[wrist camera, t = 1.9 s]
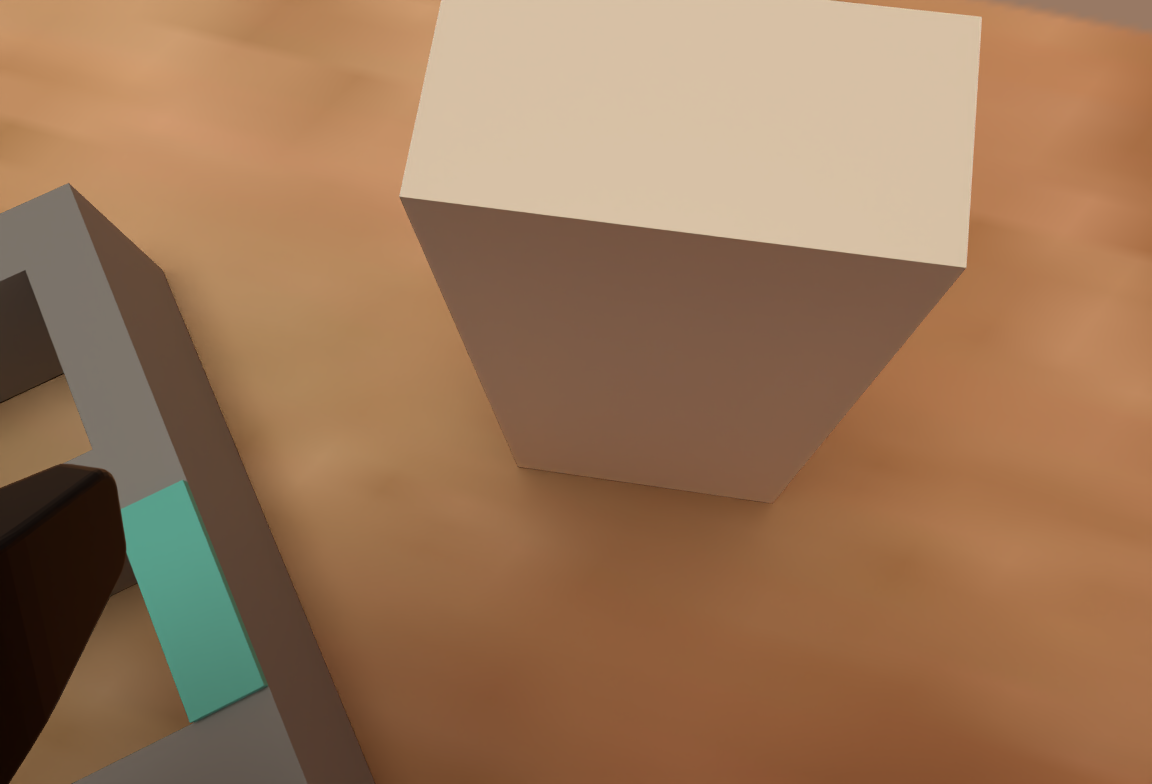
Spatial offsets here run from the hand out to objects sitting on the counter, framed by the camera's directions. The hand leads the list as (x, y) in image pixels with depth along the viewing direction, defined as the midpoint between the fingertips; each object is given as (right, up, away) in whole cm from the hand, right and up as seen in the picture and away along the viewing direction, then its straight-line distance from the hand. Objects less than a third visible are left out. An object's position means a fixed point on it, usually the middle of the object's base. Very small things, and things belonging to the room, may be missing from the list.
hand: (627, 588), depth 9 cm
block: (+1, +1, +12) cm, 12 cm away
